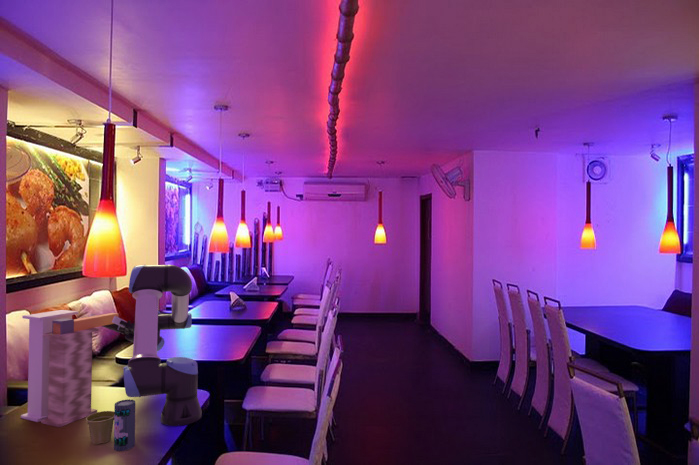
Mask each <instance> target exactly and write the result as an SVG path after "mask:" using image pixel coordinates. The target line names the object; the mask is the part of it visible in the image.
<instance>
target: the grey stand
mask: <svg viewBox="0 0 699 465" xmlns="http://www.w3.org/2000/svg"><path fill="white" fill-rule="evenodd" d="M74 315H79V311H77V310H70V309H69V310H67V309H59V310H53V311H51V310H50V311H44V312H38V313H32V314H25V315H22V316H21V317H22V319H24V320H26V319H27V320H29V322H28V328H29V329H28V365H27V366H28V368H27V369H28V372H27V373H28V374H27V379H28V380H27V412H26V413H23V414H21V415H20V419H24V420H27V421H32V422H36V423H38V422H41V420H43V419H46V418H48V397H49V340H50V337H43V334H44V333H49V332H52V320H57V319H63V318H67V319H73V316H74Z"/></svg>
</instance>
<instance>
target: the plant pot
mask: <svg viewBox="0 0 699 465" xmlns="http://www.w3.org/2000/svg"><path fill="white" fill-rule="evenodd" d="M85 421H86V423H87V425H88V430H89V435H90V436H89V437H90V443H91V444H92V445H101V444H106V443H108V442H110V441H111V440H112V434H113V430H114V411H113V410H104V411H97V412H96V413H94V414H91V415H89V416H86V417H85Z"/></svg>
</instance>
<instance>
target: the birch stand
mask: <svg viewBox="0 0 699 465" xmlns="http://www.w3.org/2000/svg"><path fill="white" fill-rule="evenodd" d="M95 332H100V327H95V328H90V329H85V330H80V331H75V332H72V333H67V334H62V335H61V334H53V333H52V332H49V333H44V334H43V337H50V340H49V397H48V418H46V419H43V420H41V421H40V422H41V424H43V425H44V424H45V425H47V426H51V427H56V428H61V427H64V426H66V425H69V424H71V423H74V422H76V421H79V420H81V419H84V418H87V417H88V416H89V415H91V414H94V413H97V412H98V409H97V408H92V385H93V384H92V380H93V378H92V377H93V376H92V375H93V333H95Z"/></svg>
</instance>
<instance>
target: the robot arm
mask: <svg viewBox="0 0 699 465" xmlns="http://www.w3.org/2000/svg"><path fill="white" fill-rule="evenodd" d="M192 290H193V281H192V278H191V276H190V275H189V274H188V272H186V270H185V269H183V268H181V266H179V265H174V264H141V265H135V266H134V267H133V268H132V270H131V273H130V276H129V283H128V292H129V293H130V294H132V298H133V299H135V300H136V301H135V311H134V313H135V314H134V322H131V320H127V321H126V320H124V319H123V318H121V317H117V316H114V318H113V320H112V323H114V324H110V325H105V326H101V327H103V328H105V329H108V330H110V331H111V330H112V331H114V332H116V333H120V334H122V335H124V338H125V340H127V341H129V342H131V343H133V349H132V351H133V352H132V357H131V358H130V359H129V360H128V363H127V365H125V366H123V382H124V391H125V395H126V396H127V397H128V398H141V397H149V396H158V395H160V396H161V395H165V402H164V405H163V408H162V411H161V414H160V422H161V424H163V425H165V426H171V427H177V426H186V425H190V424H193V423H196V422H197V421H199V420H201V419H202V417H203V415H202V413H203V412H202V408H201V404H200V401H199V398H198V374H199V371H198V368H199V367H198V362H197V361H196V360H195V359H193V358H190V357H185V356H174V357H170V358H169V357H168V358H167V359H166V360H165V361H166V362H163V363H162V359H161V357H160V356H158V352H159V351H161V349H163V348H164V346H165V338H164V337H162V336H161V331H163V330H165V331H166V330H184V329H190V328H192V320H193V316H192V313H190V312H189V304H190V302H189V301H190V293H191V291H192ZM164 292H165V293H169V292H170V294H171V313H163V314H162V313H161V311H160V310H159V300H160V299H161V298H162V297H163V293H164ZM96 315H97V314H94V313H91V314H90V315H89V317H91V316H96Z"/></svg>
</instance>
